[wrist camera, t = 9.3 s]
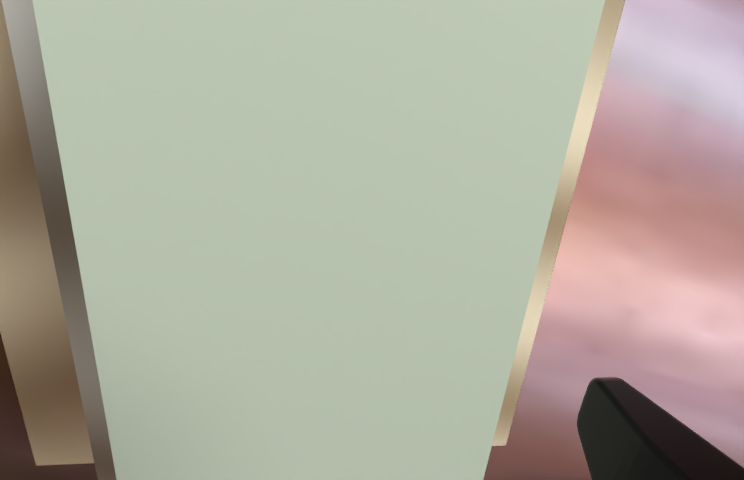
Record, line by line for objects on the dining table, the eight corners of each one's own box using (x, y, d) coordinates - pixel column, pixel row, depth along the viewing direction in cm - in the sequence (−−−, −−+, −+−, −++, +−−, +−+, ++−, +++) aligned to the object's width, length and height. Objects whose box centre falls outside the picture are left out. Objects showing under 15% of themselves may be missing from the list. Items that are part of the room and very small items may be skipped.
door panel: (355, 404, 19) (406, 777, 12) (206, 409, 19) (161, 806, 11) (408, -152, 12) (633, -110, 5) (169, -175, 11) (-34, -170, 4)
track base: (492, 410, 22) (531, 514, 19) (50, 425, 20) (6, 544, 17) (653, -251, 13) (786, -276, 10) (-135, -347, 11) (-315, -420, 8)
